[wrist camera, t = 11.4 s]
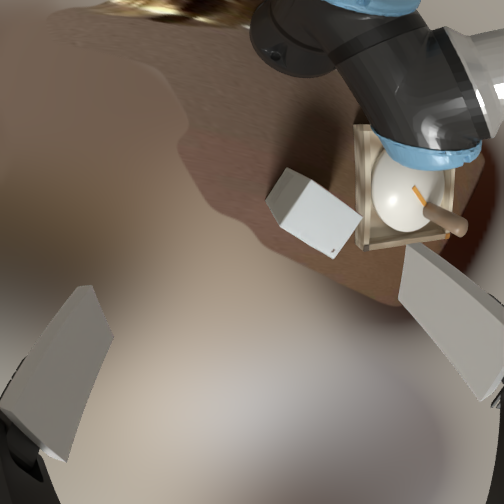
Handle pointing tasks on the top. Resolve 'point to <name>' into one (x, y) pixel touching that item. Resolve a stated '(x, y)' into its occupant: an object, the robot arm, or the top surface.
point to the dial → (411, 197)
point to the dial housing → (371, 226)
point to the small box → (312, 212)
